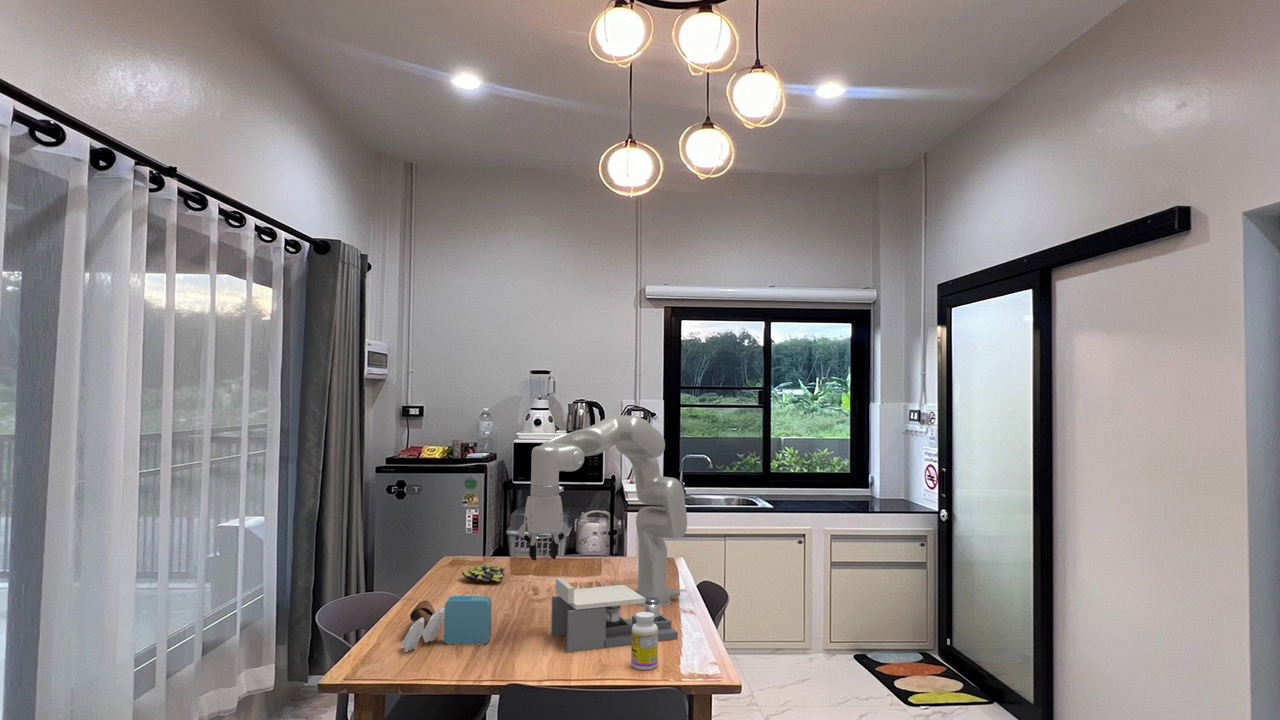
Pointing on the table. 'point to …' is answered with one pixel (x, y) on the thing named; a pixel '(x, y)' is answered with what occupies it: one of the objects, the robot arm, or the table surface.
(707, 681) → the table surface
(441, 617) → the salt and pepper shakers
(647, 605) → the silver metal shaker
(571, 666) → the table surface
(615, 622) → the glass spice jar
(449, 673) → the table surface
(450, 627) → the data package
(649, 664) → the supplement bottle
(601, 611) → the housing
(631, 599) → the lid
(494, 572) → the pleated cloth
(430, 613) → the sunglasses case
